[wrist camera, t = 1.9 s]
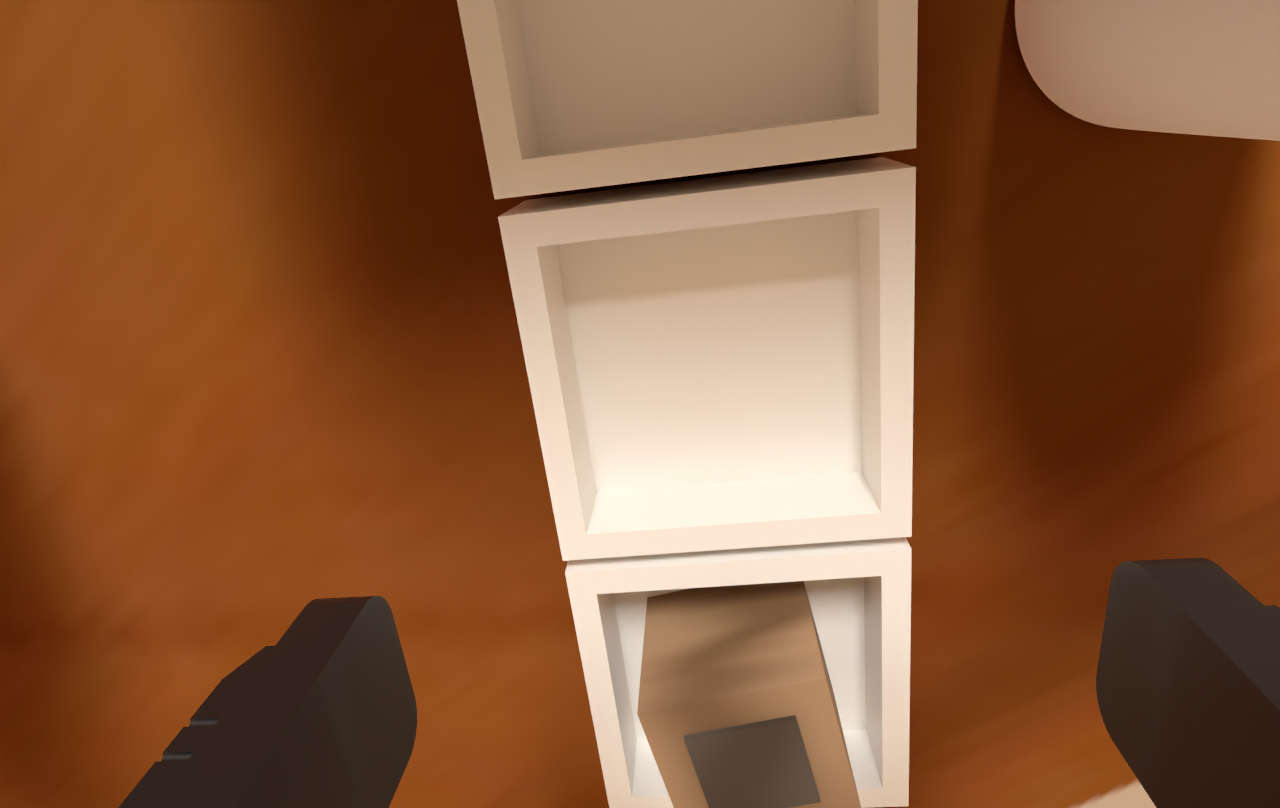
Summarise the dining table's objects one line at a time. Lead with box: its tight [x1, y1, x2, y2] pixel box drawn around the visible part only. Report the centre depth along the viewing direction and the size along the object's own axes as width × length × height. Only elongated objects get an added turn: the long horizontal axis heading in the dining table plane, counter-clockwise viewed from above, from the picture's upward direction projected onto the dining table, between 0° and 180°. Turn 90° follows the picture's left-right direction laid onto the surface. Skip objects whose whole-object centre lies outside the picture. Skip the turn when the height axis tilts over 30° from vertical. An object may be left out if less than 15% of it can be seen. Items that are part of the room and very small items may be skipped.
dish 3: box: [565, 537, 911, 808], centre depth 24 cm, size 10×10×3 cm
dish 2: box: [498, 157, 916, 561], centre depth 20 cm, size 10×10×3 cm
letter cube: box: [637, 581, 861, 808], centre depth 22 cm, size 5×5×5 cm
